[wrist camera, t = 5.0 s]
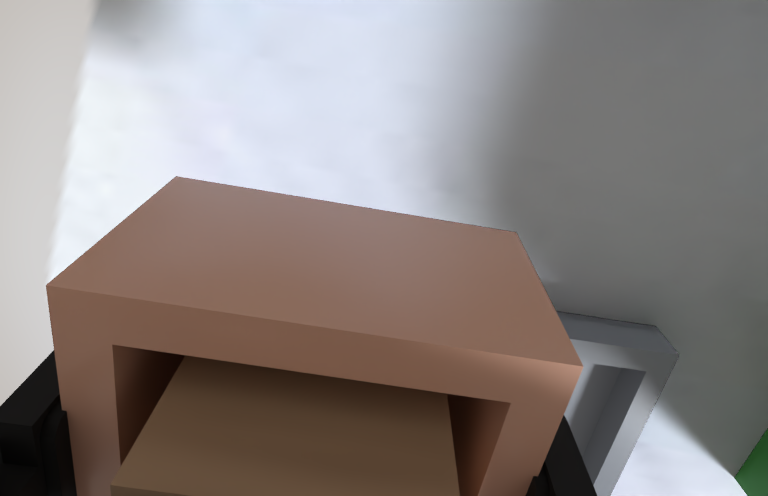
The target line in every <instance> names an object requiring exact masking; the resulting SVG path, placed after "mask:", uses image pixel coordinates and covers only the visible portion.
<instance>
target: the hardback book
mask: <svg viewBox="0 0 768 496" xmlns="http://www.w3.org/2000/svg"><path fill="white" fill-rule="evenodd" d="M735 479H736V481H737V482H738V483H739V485H740V486H741V487H742V489H743V490H744V492H745V493H746V494H747V496H768V429H767V430H766V432H765V433H764V435H763V436H762V438H761V439H760V441H759V442H758V443H757V445H756V446H755V448H754V449H753V451H752V452H751V454H750V455H749V457H748V458H747V460H746V461H745V463H744V464H743V466H742V467H741V469H740V470H739V472H738V473H737V475H736V476H735Z"/></svg>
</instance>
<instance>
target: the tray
mask: <svg viewBox="0 0 768 496" xmlns="http://www.w3.org/2000/svg"><path fill="white" fill-rule="evenodd" d="M556 312H557V311H556ZM557 314H558V316H559V318H560V320H561V322H562V324H563V326H564V328H565V330H566V332H567V334H568V336H569V338H570V340H571V342H572V344H573V346H574V348H575V350H576V352H577V354H578V356H579V358H580V360H581V362H582V364H583V366H584V367H583V370H582V372H581V374H580V377H579V379H578V382H577V384H576V386H575V389H574V391H573V394H572V396H571V398H570V401H569V403H568V406H567V408H566V410H565V413H564V416H565V417H566V419H567V421H568V424H569V426H570V429H571V431H572V434H573V436H574V439H575V441H576V444H577V446H578V449H579V451H580V454H581V456H582V459H583V461H584V464H585V466H586V469H587V471H588V474H589V476H590V479H591V481H592V484H593V486H594V489H595V491H596V494H597V496H610V495H611V493H612V491H613V489H614V487H615V485H616V483H617V481H618V479H619V477H620V475H621V473H622V471H623V469H624V467H625V465H626V463H627V461H628V459H629V457H630V455H631V453H632V451H633V449H634V447H635V444H636V442H637V440H638V438H639V436H640V434H641V432H642V430H643V428H644V426H645V424H646V422H647V420H648V418H649V416H650V414H651V412H652V410H653V408H654V406H655V404H656V402H657V400H658V398H659V396H660V394H661V392H662V390H663V388H664V386H665V384H666V382H667V379H668V377H669V375H670V373H671V371H672V369H673V367H674V365H675V363H676V361H677V359H678V357H679V354H678V353H677V351H676V350H675V349H674V348H673V347H672V345H671V344H670V343H669V342H668V341H667V339H666V338H665V337H664V336H663V334H662V333H661V332H660V331H659V330H658V328H657V327H656V326H650V325H643V324H636V323H630V322H623V321H617V320H610V319H603V318H597V317H590V316H584V315H577V314H570V313H564V312H557Z"/></svg>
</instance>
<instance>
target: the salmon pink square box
mask: <svg viewBox="0 0 768 496" xmlns="http://www.w3.org/2000/svg"><path fill="white" fill-rule="evenodd" d="M46 289H47V297H48V305H49V313H50V321H51V328H52V335H53V344H54V352H55V360H56V368H57V375H58V383H59V391H60V399H61V407H62V410H64V411H67V417H68V425H69V434H70V442H71V450H72V458H73V466H74V474H75V483H76V491H77V496H111V490H110V484H111V483H112V481H113V479H114V477H115V476H116V474H117V472H118V471H119V469H120V467H121V465H122V464H123V462H124V460H125V458H126V457H127V455H128V453H129V452H130V450H131V448H132V446H133V445H134V443H135V441H136V439H137V438H138V436H139V434H140V433H141V431H142V429H143V427H144V426H145V424H146V422H147V421H148V419H149V417H150V415H151V414H152V412H153V410H154V408H155V407H156V405H157V403H158V402H159V400H160V398H161V396H162V395H163V393H164V391H165V390H166V388H167V386H168V384H169V383H170V381H171V379H172V377H173V376H174V374H175V372H176V371H177V369H178V367H179V365H180V364H181V362H182V360H183V358H184V357H185V355H187V356H194V357H201V358H208V359H215V360H221V361H228V362H235V363H242V364H249V365H256V366H262V367H269V368H276V369H283V370H290V371H296V372H303V373H310V374H317V375H324V376H331V377H337V378H344V379H351V380H358V381H365V382H372V383H378V384H385V385H392V386H399V387H406V388H413V389H419V390H426V391H433V392H440V393H447V397H448V405H449V413H450V421H451V429H452V437H453V445H454V453H455V460H456V468H457V476H458V484H459V492H460V496H525V495H526V493H527V491H528V488H529V486H530V483H531V481H532V478H533V476H538V475H539V473H540V470H541V468H542V466H543V463H544V461H545V458H546V456H547V454H548V451H549V449H550V446H551V444H552V442H553V439H554V437H555V434H556V432H557V430H558V427H559V425H560V422H561V420H562V418H563V415H564V413H565V410H566V408H567V406H568V403H569V401H570V398H571V396H572V394H573V391H574V389H575V386H576V384H577V382H578V379H579V377H580V374H581V372H582V370H583V367H584V366H583V364H582V362H581V360H580V358H579V356H578V354H577V352H576V350H575V348H574V346H573V344H572V342H571V340H570V338H569V336H568V334H567V332H566V330H565V328H564V326H563V324H562V322H561V320H560V318H559V316H558V314H557V312H556V310H555V308H554V306H553V304H552V302H551V300H550V298H549V296H548V294H547V292H546V291H545V289H544V287H543V285H542V283H541V281H540V279H539V277H538V275H537V273H536V271H535V269H534V267H533V265H532V263H531V261H530V259H529V257H528V255H527V253H526V251H525V249H524V247H523V245H522V243H521V241H520V239H519V237H518V235H517V233H516V232H511V231H505V230H499V229H493V228H487V227H481V226H475V225H469V224H463V223H457V222H451V221H444V220H438V219H432V218H426V217H420V216H414V215H408V214H402V213H396V212H390V211H384V210H378V209H372V208H365V207H359V206H353V205H347V204H341V203H335V202H329V201H323V200H317V199H311V198H305V197H299V196H293V195H286V194H280V193H274V192H268V191H262V190H256V189H250V188H244V187H238V186H232V185H226V184H220V183H214V182H207V181H201V180H195V179H189V178H183V177H177V176H176V177H175V178H174V179H172V180H171V181H170V182H169V183H168V184H166V185H165V186H164V187H163V188H162V189H160V190H159V191H158V192H157V193H156V194H154V195H153V196H152V197H151V198H150V199H148V200H147V201H146V202H145V203H144V204H142V205H141V206H140V207H139V208H138V209H137V210H135V211H134V212H133V213H132V214H131V215H129V216H128V217H127V218H126V219H125V220H123V221H122V222H121V223H120V224H119V225H117V226H116V227H115V228H114V229H113V230H111V231H110V232H109V233H108V234H107V235H105V236H104V237H103V238H102V239H101V240H99V241H98V242H97V243H96V244H95V245H94V246H92V247H91V248H90V249H89V250H88V251H86V252H85V253H84V254H83V255H82V256H80V257H79V258H78V259H77V260H76V261H74V262H73V263H72V264H71V265H70V266H68V267H67V268H66V269H65V270H64V271H62V272H61V273H60V274H59V275H58V276H56V277H55V278H54V279H53V280H52V281H51V282H49V283H48V284H47V285H46Z"/></svg>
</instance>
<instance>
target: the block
mask: <svg viewBox="0 0 768 496" xmlns="http://www.w3.org/2000/svg"><path fill="white" fill-rule="evenodd" d="M110 490H111V496H460V492H459V484H458V476H457V468H456V460H455V453H454V445H453V437H452V429H451V421H450V413H449V405H448V397H447V393H440V392H433V391H426V390H419V389H413V388H406V387H399V386H392V385H385V384H378V383H372V382H365V381H358V380H351V379H344V378H337V377H331V376H324V375H317V374H310V373H303V372H296V371H290V370H283V369H276V368H269V367H262V366H256V365H249V364H242V363H235V362H228V361H221V360H215V359H208V358H201V357H194V356H187V355H185V357H184V358H183V360H182V362H181V364H180V365H179V367H178V369H177V371H176V372H175V374H174V376H173V377H172V379H171V381H170V383H169V384H168V386H167V388H166V390H165V391H164V393H163V395H162V396H161V398H160V400H159V402H158V403H157V405H156V407H155V408H154V410H153V412H152V414H151V415H150V417H149V419H148V421H147V422H146V424H145V426H144V427H143V429H142V431H141V433H140V434H139V436H138V438H137V439H136V441H135V443H134V445H133V446H132V448H131V450H130V452H129V453H128V455H127V457H126V458H125V460H124V462H123V464H122V465H121V467H120V469H119V471H118V472H117V474H116V476H115V477H114V479H113V481H112V483H111V484H110Z"/></svg>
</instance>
